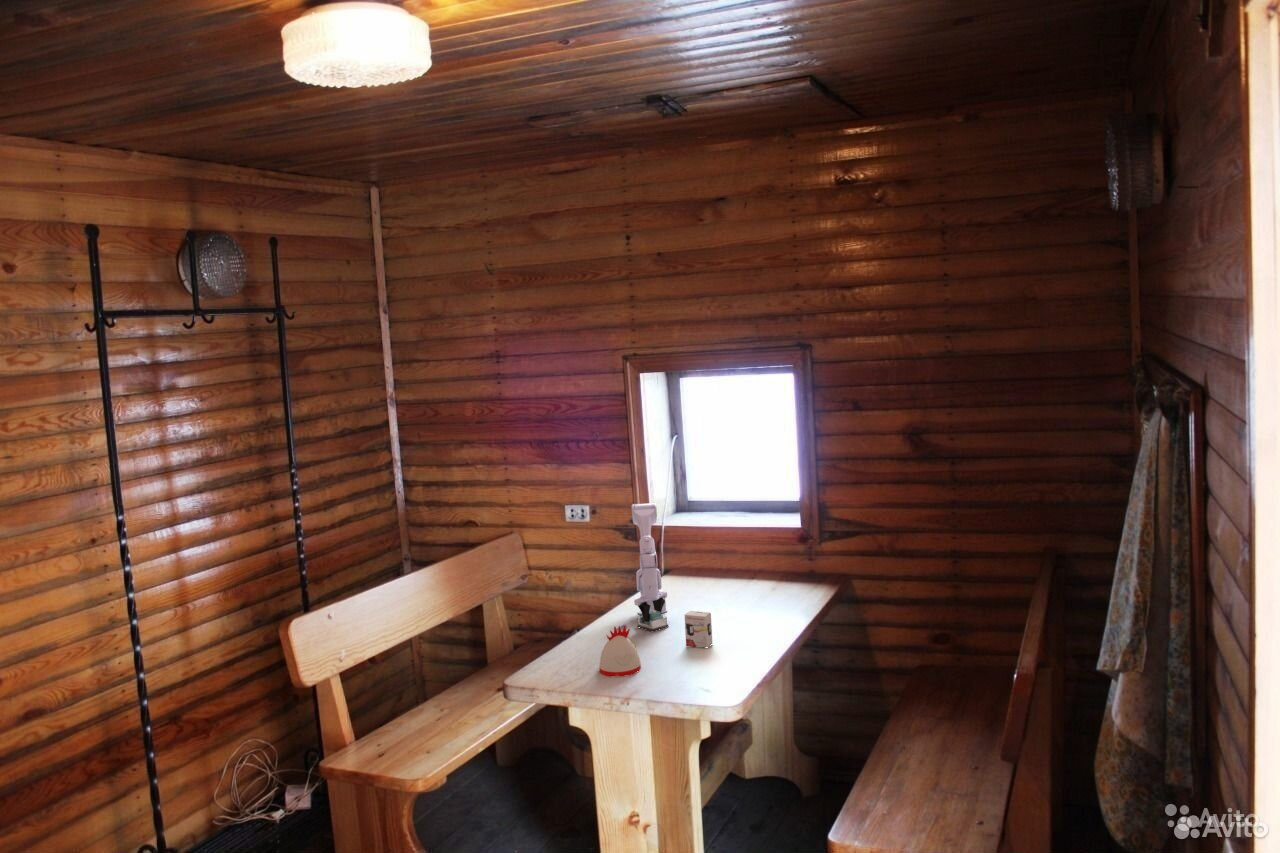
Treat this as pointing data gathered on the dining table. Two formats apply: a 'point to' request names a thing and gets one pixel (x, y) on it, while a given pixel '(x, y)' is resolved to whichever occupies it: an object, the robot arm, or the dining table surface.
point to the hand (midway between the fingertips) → (652, 619)
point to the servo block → (653, 615)
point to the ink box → (698, 629)
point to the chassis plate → (653, 624)
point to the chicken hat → (619, 655)
